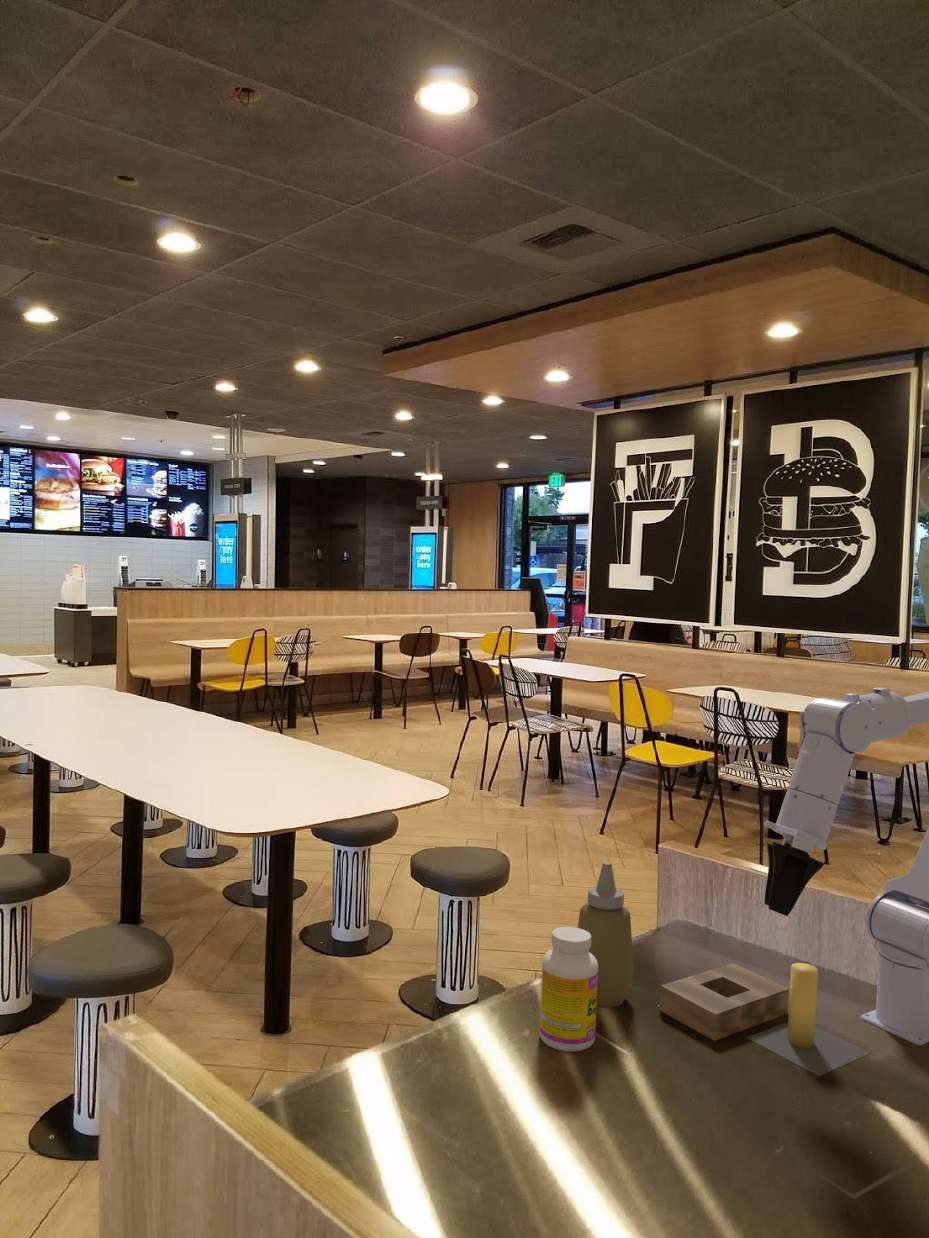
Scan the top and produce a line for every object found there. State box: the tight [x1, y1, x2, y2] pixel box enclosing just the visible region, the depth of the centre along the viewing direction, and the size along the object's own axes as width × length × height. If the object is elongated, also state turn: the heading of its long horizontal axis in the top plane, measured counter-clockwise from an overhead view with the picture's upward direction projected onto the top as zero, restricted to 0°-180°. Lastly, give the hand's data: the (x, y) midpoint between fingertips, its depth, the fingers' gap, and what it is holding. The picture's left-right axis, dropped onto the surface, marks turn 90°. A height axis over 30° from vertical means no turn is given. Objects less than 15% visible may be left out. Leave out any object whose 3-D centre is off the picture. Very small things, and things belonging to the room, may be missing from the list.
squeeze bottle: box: [577, 862, 635, 1008], centre depth 120 cm, size 8×8×18 cm
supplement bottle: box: [539, 926, 598, 1053], centre depth 109 cm, size 7×7×13 cm
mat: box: [746, 1021, 871, 1077], centre depth 110 cm, size 10×10×1 cm
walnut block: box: [658, 963, 790, 1042], centre depth 118 cm, size 14×9×4 cm, turn 124°
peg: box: [787, 962, 819, 1048], centre depth 110 cm, size 3×3×9 cm
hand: (775, 909), depth 105 cm, fingers open, 7 cm apart
